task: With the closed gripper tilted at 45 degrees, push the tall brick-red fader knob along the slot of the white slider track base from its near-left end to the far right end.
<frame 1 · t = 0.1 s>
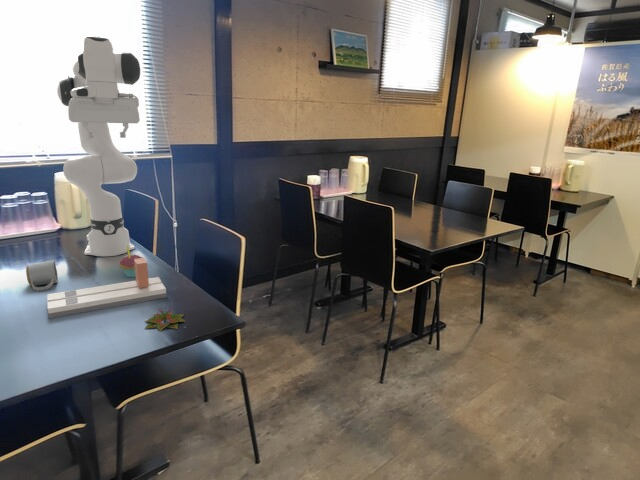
hand: (107, 137, 139), 48 cm above the table, tool pointing down, fingers open, 8 cm apart
cupcake: (133, 275, 154), on the table
white slider track base: (109, 300, 134), on the table
ceramic mug: (44, 285, 143), on the table
lily flower: (165, 324, 122), on the table
fader: (141, 275, 137), point 7 cm above the table, slide at 0.0 cm
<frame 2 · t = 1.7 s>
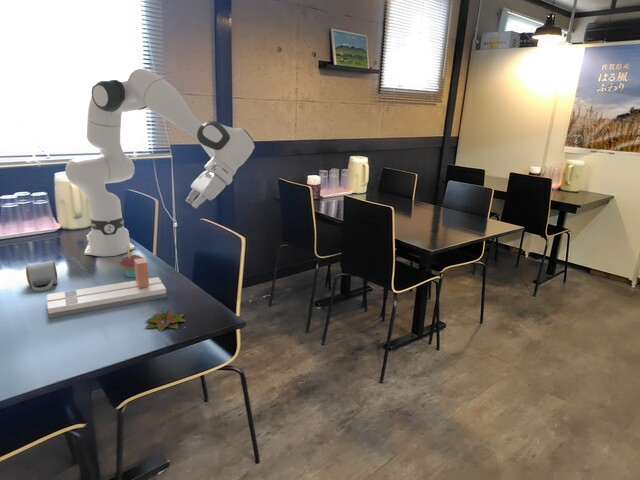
hand: (190, 204, 139), 28 cm above the table, tool tilted 45°, fingers open, 8 cm apart
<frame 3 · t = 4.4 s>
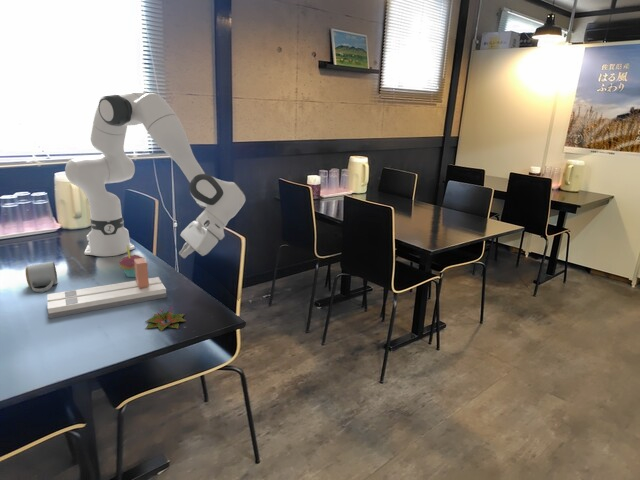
hand: (181, 256, 142), 11 cm above the table, tool tilted 45°, fingers closed
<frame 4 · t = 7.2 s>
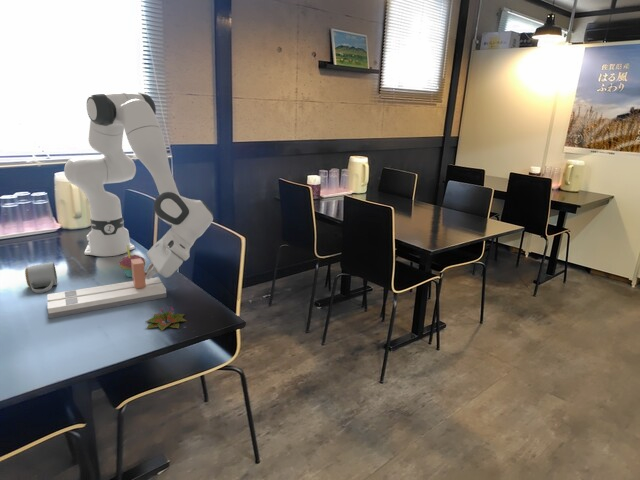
hand: (145, 277, 138), 6 cm above the table, tool tilted 45°, fingers closed, pressing on fader
fader: (138, 275, 136), point 7 cm above the table, slide at 1.0 cm, touching gripper
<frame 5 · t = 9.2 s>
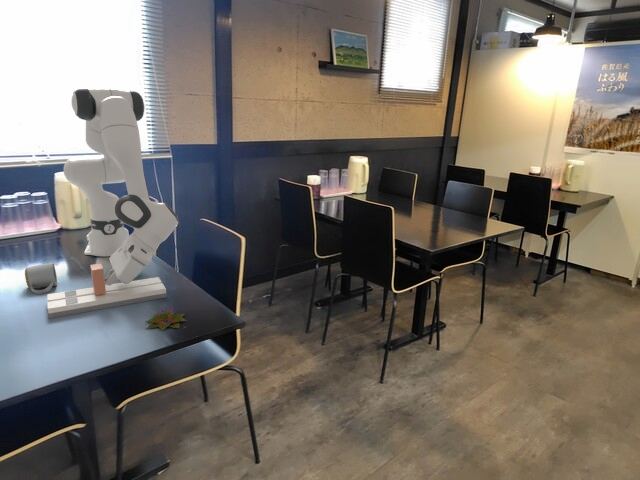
hand: (106, 283, 132), 6 cm above the table, tool tilted 45°, fingers closed, pressing on fader
fader: (98, 281, 131), point 7 cm above the table, slide at 12.4 cm, touching gripper
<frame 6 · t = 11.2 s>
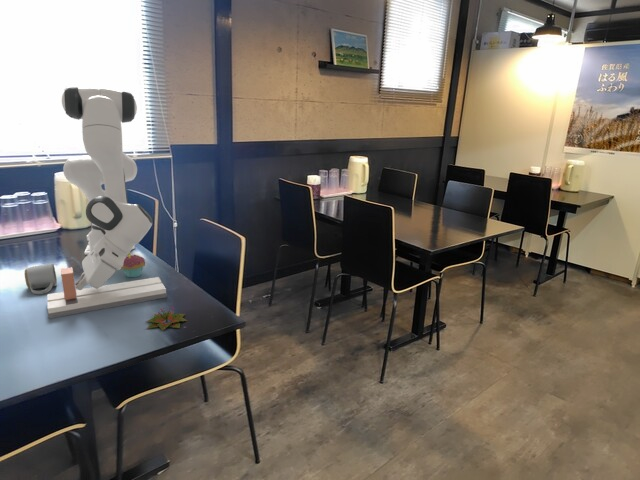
hand: (77, 287, 128), 6 cm above the table, tool tilted 45°, fingers closed, pressing on fader
fader: (69, 286, 127), point 7 cm above the table, slide at 20.1 cm, touching gripper
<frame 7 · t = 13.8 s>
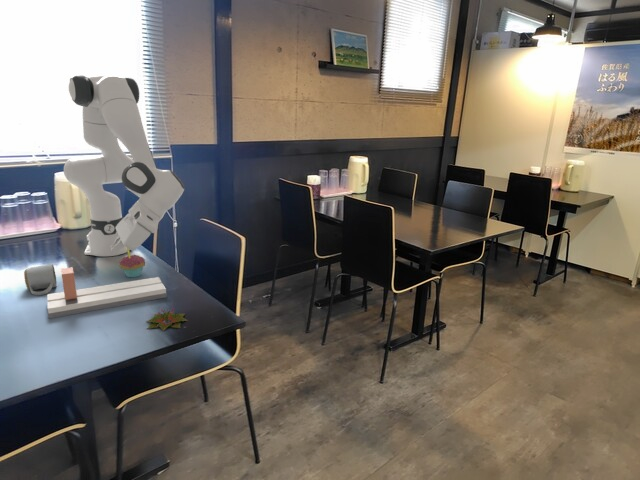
hand: (112, 250, 131), 16 cm above the table, tool tilted 45°, fingers closed
fader: (69, 286, 127), point 7 cm above the table, slide at 20.0 cm
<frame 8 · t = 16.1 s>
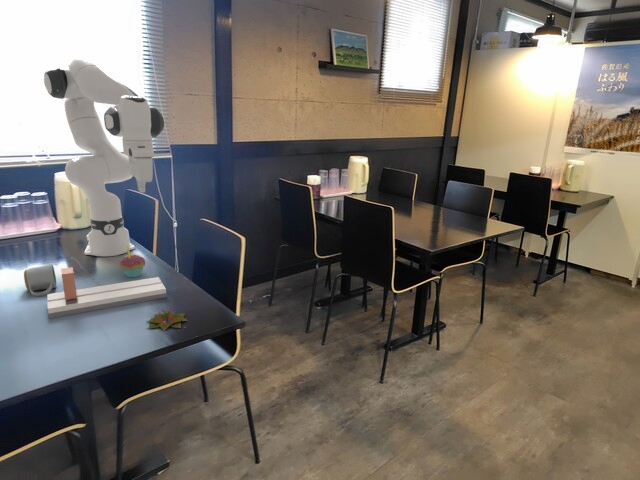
hand: (141, 191, 142), 31 cm above the table, tool pointing down, fingers closed
at the end: fader slide at 20.0 cm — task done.
